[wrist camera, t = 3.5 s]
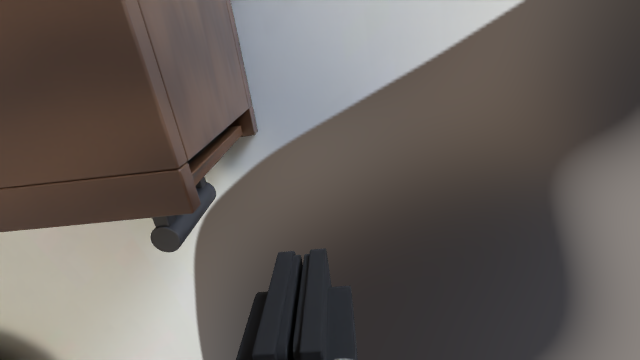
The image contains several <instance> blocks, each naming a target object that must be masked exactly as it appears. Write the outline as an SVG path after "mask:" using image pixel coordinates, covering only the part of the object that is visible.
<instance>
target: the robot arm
mask: <svg viewBox="0 0 640 360" xmlns="http://www.w3.org/2000/svg"><path fill="white" fill-rule="evenodd" d="M236 360H357V348H356V336H355V324H354V313H353V303H352V294H351V286H340V287H331V280H330V273H329V265H328V258H327V252H326V249H314V250H310V254H305V255H304V262H303V265H302V259H301V255H295V252H294V251H290V252H279V253H278V255H277V259H276V263H275V267H274V271H273V275H272V278H271V282H270V286H269V290H268V292H258V293H257V294H256V296H255V299H254V302H253V305H252V309H251V312H250V315H249V318H248V322H247V325H246V328H245V332H244V335H243V338H242V342H241V345H240V349H239V352H238V355H237V358H236Z"/></svg>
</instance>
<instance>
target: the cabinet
mask: <svg viewBox="0 0 640 360" xmlns="http://www.w3.org/2000/svg"><path fill="white" fill-rule="evenodd" d="M233 126H241V129H242V135H241V136H240V137H243V136H252V135H255V134H256V133H257V132H258V130H257V125H256V120H255V115H254V111H253V106H252V101H251V97H250V92H249V87H248V82H247V78H246V73H245V68H244V63H243V58H242V54H241V49H240V44H239V39H238V35H237V30H236V25H235V20H234V16H233V11H232V6H231V1H230V0H0V232H8V231H18V230H28V229H39V228H49V227H59V226H70V225H80V224H90V223H101V222H111V221H121V220H132V219H142V218H152V217H163V216H173V215H183V214H192V213H194V212H195V211H196V210H197V208H198V207H199V206H200V199H199V196H198V193H197V190H196V187H195V183H194V180H193V177H192V174H191V171H190V168H189V164H188V163H186V162H187V161H189V160H190V159H191V158H192V157H193V156H194V155H196V154H197V153H198V152H199V151H200V150H201V149H203V148H204V147H205V146H206V145H207V144H208V143H209V142H211V141H212V140H213V139H214V138H215V137H216V136H218V135H219V134H220V133H221V132H222V131H223V130H225V129H226V128H230V127H233Z"/></svg>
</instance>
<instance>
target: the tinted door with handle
mask: <svg viewBox="0 0 640 360" xmlns="http://www.w3.org/2000/svg"><path fill="white" fill-rule="evenodd" d="M241 135H242V129H241V126H233V127H230V128H226V129H225V130H223V131H222V132H221V133H220V134H219V135H218V136H216V137H215V138H214V139H213V140H212V141H211V142H209V143H208V144H207V145H206V146H205V147H204V148H203V149H201V150H200V151H199V152H198V153H197V154H196V155H194V156H193V157H192V158H191V159H190V160H189V161H187V162H186V163H188V164H189V168H190V171H191V174H192V177H193V180H194V183H195V187H196V190H197V193H198V196H199V199H200V206H199V207H198V208H197V210H196V211H195V212H194V213H192V214H183V215H173V216H163V217H152V219H153V221H154V224H155V226H156V228H155V229H154V230H153V231H152V233H151V241H152V243H153V245H154V246H155V247H156V248H157V249H159V250H161V251H164V252H174V251H176V250H177V249H179V247H180V246H181V245H182V243H183V242H184V241H185V239H186V238H187V236H188V235H189V234H190V232H191V231H192V229H193V228H194V227H195V225H196V224H197V222H198V221H199V220H200V218H201V217H202V216H203V214H204V213H205V211H206V210H207V209H208V207H209V206H210V204H211V203H212V202H213V200H214V199H215V197H216V191H215V189H214V187H213V186H212V185H211V184H209V183H207V182H206V181H205V178H204V176H205V175H206V174H207V173H208V171H209V170H210V169H211V168H212V167H213V166H214V165H215V164H216V163H217V162H218V160H219V159H220V158H221V157H222V156H223V155H224V154H225V153H226V152H227V151H228V150H229V148H230V147H231V146H232V145H233V144H234V143H235V142H236V141H237V140H238V139H239V137H240V136H241Z"/></svg>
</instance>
